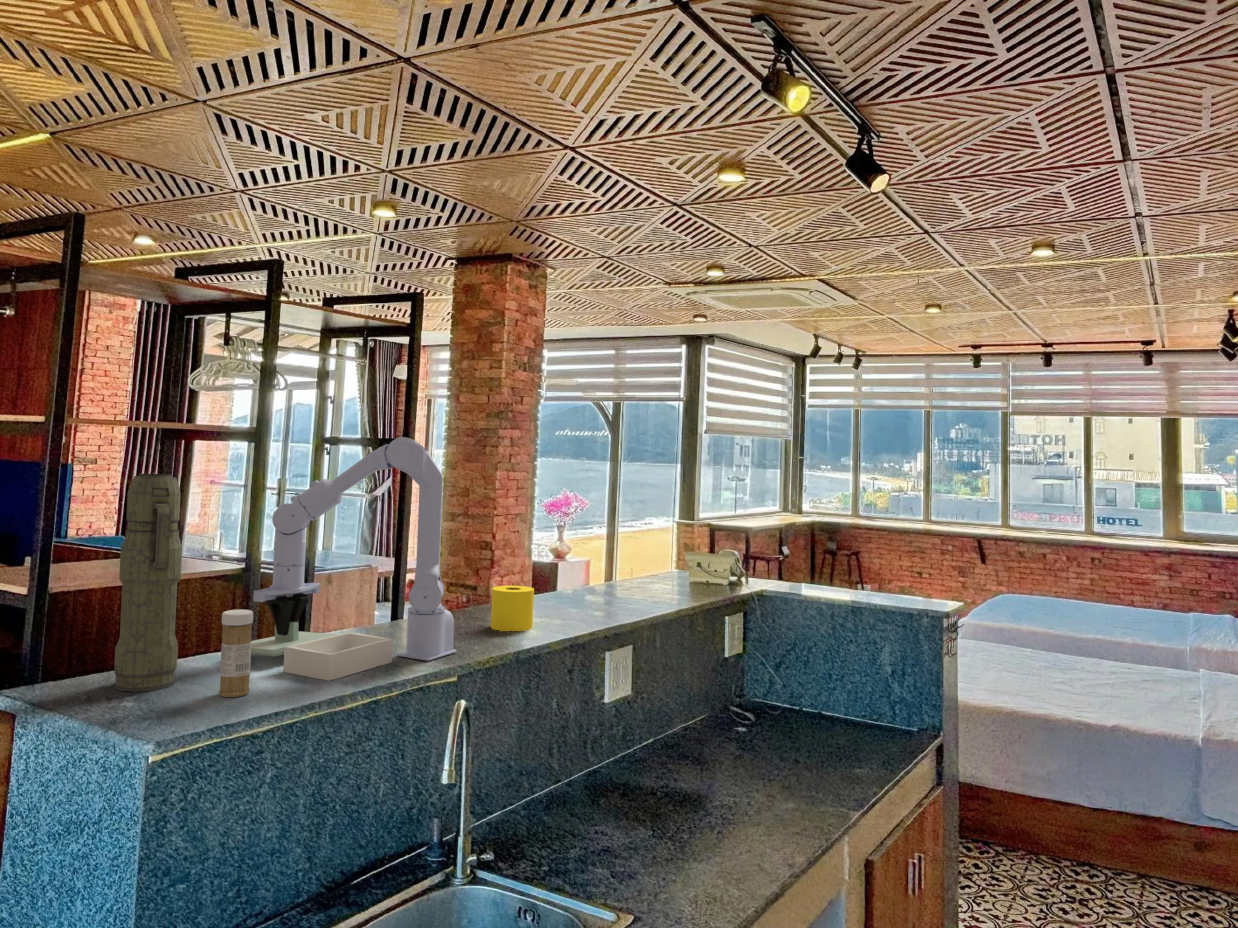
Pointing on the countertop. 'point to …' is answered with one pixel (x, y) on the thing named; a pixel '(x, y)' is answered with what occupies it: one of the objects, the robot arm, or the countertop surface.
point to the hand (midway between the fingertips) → (286, 633)
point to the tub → (337, 655)
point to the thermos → (149, 585)
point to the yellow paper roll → (512, 608)
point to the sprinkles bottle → (235, 653)
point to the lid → (284, 641)
